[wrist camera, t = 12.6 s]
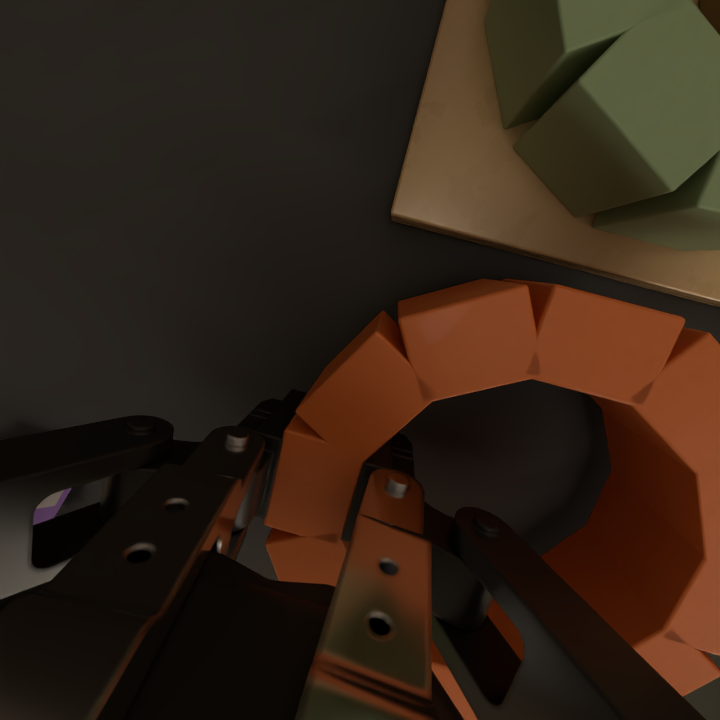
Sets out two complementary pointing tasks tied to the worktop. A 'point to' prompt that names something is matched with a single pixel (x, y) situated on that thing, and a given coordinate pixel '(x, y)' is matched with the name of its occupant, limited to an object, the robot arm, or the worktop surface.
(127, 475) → the robot arm
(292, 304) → the worktop surface
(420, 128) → the ring stand
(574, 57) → the green ring
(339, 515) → the orange ring
